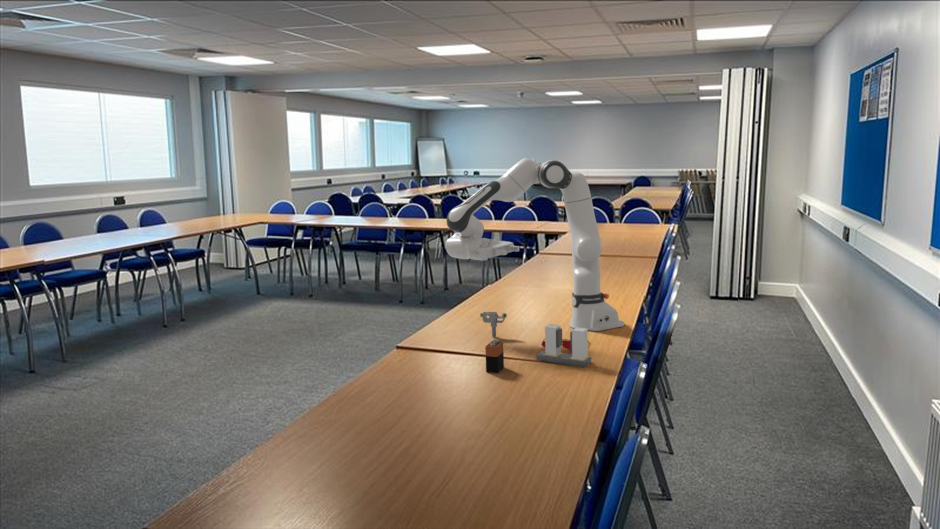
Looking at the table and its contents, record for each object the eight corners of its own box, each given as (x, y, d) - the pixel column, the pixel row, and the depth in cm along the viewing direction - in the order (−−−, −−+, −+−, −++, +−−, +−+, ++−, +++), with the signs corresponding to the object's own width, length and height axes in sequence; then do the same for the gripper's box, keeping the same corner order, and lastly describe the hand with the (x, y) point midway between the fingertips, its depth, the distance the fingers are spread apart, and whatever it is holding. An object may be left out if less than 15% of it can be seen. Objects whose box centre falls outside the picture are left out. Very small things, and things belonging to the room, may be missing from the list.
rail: (536, 360, 230) (536, 354, 230) (544, 355, 235) (544, 349, 235) (584, 367, 221) (584, 361, 220) (591, 362, 226) (591, 356, 225)
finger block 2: (570, 358, 224) (569, 329, 223) (574, 354, 227) (574, 326, 226) (583, 360, 222) (582, 331, 220) (587, 356, 225) (587, 328, 223)
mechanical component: (506, 338, 259) (505, 313, 257) (480, 337, 261) (480, 313, 259) (507, 336, 262) (506, 312, 260) (482, 335, 264) (481, 311, 262)
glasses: (540, 351, 242) (540, 337, 241) (553, 339, 257) (553, 326, 256) (578, 354, 237) (577, 340, 236) (588, 341, 252) (588, 329, 251)
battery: (504, 367, 224) (503, 338, 222) (498, 373, 218) (497, 344, 216) (492, 366, 226) (491, 338, 224) (485, 372, 219) (484, 343, 218)
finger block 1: (545, 354, 229) (545, 326, 228) (550, 351, 232) (550, 324, 231) (557, 356, 227) (557, 328, 225) (562, 353, 230) (562, 325, 228)
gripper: (467, 244, 250) (498, 246, 243) (494, 238, 267) (524, 239, 260) (468, 261, 251) (499, 263, 244) (495, 253, 268) (525, 255, 261)
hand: (512, 250), depth 252 cm, fingers open, 8 cm apart
